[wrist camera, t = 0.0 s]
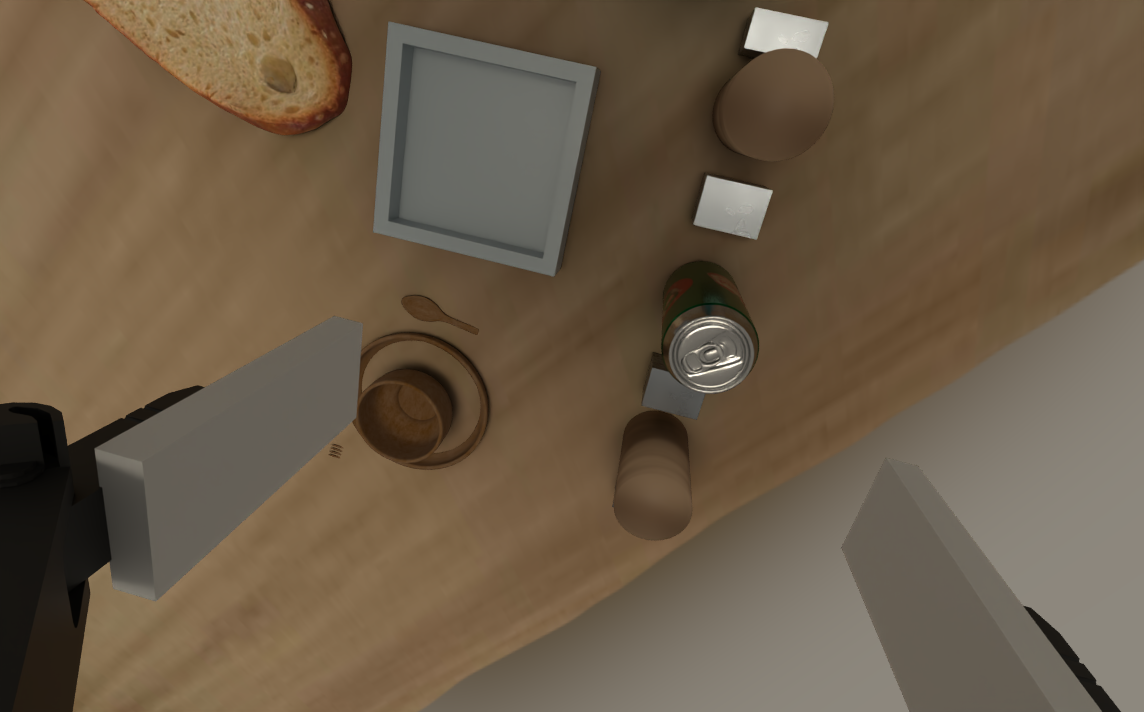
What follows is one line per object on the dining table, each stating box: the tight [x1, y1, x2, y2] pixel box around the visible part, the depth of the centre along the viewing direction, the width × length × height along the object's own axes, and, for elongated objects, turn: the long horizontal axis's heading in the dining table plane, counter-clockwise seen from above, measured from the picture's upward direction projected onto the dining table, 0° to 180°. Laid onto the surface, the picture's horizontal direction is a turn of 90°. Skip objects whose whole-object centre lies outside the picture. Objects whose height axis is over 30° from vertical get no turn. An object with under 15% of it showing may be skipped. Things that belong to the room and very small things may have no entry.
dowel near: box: [713, 48, 834, 162], centre depth 32 cm, size 5×5×9 cm
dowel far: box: [614, 411, 692, 540], centre depth 41 cm, size 5×5×9 cm
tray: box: [373, 22, 601, 276], centre depth 38 cm, size 13×13×2 cm
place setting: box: [328, 296, 488, 470], centre depth 45 cm, size 18×20×6 cm
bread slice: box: [84, 0, 352, 135], centre depth 38 cm, size 18×18×4 cm
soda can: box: [661, 261, 759, 394], centre depth 35 cm, size 5×5×12 cm
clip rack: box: [612, 8, 828, 507], centre depth 39 cm, size 34×4×3 cm, turn 168°
